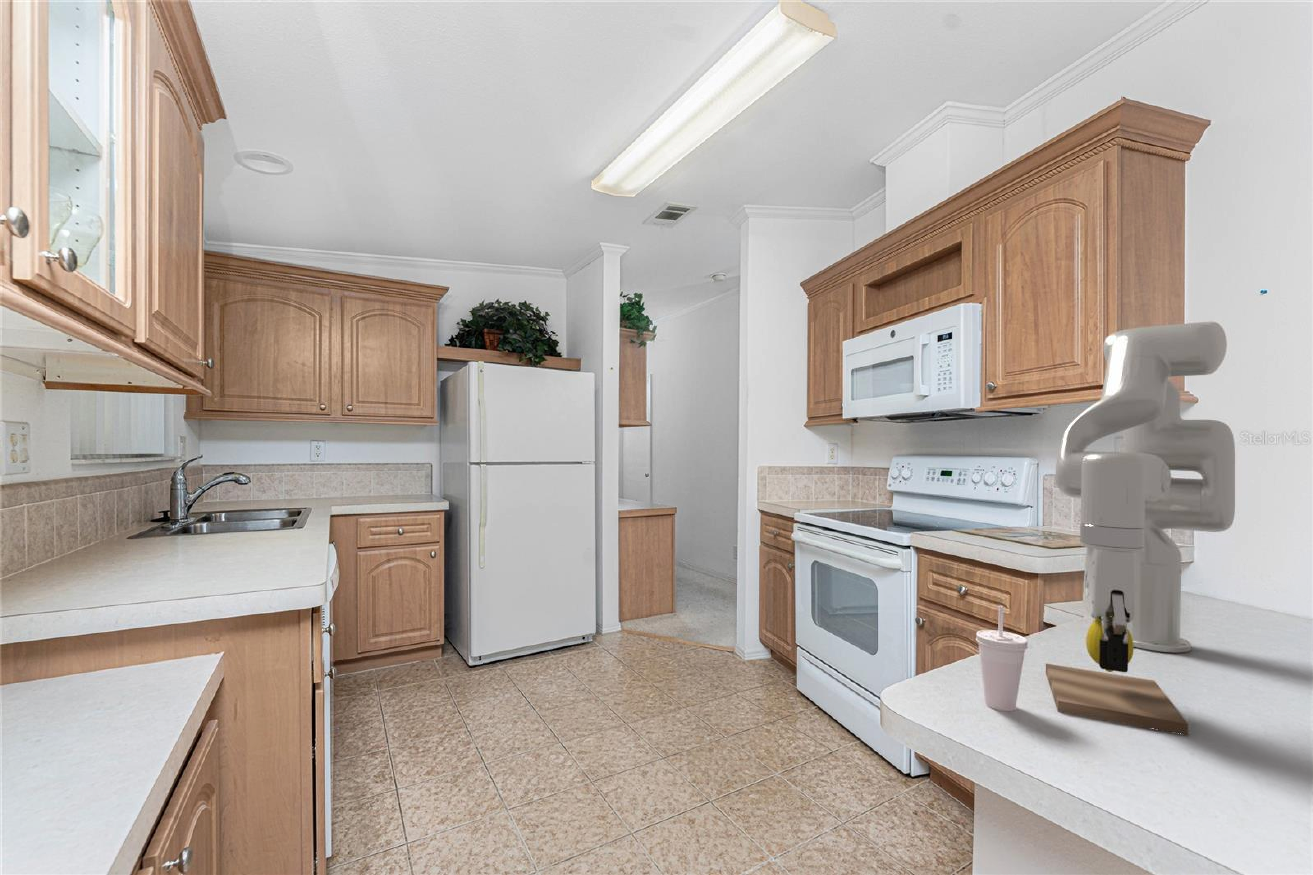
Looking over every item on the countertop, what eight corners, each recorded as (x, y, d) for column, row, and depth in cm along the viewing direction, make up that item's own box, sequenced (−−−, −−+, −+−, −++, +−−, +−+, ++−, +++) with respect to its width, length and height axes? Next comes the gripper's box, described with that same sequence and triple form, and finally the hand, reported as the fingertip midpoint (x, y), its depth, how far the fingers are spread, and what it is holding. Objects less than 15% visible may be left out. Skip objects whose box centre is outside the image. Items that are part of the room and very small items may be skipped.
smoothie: (968, 705, 87) (970, 604, 87) (981, 692, 91) (983, 597, 91) (1020, 720, 82) (1022, 614, 82) (1031, 706, 87) (1033, 606, 87)
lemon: (1141, 680, 86) (1142, 623, 87) (1096, 676, 87) (1097, 619, 88) (1120, 667, 92) (1121, 613, 92) (1078, 663, 93) (1079, 610, 93)
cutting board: (1045, 672, 100) (1045, 663, 100) (1154, 690, 94) (1154, 680, 94) (1057, 711, 85) (1057, 700, 85) (1188, 735, 79) (1188, 724, 79)
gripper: (1072, 529, 99) (1070, 643, 99) (1089, 542, 84) (1086, 677, 84) (1130, 533, 96) (1128, 651, 96) (1159, 548, 81) (1156, 688, 80)
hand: (1109, 662), depth 90 cm, fingers closed on lemon, 5 cm apart
